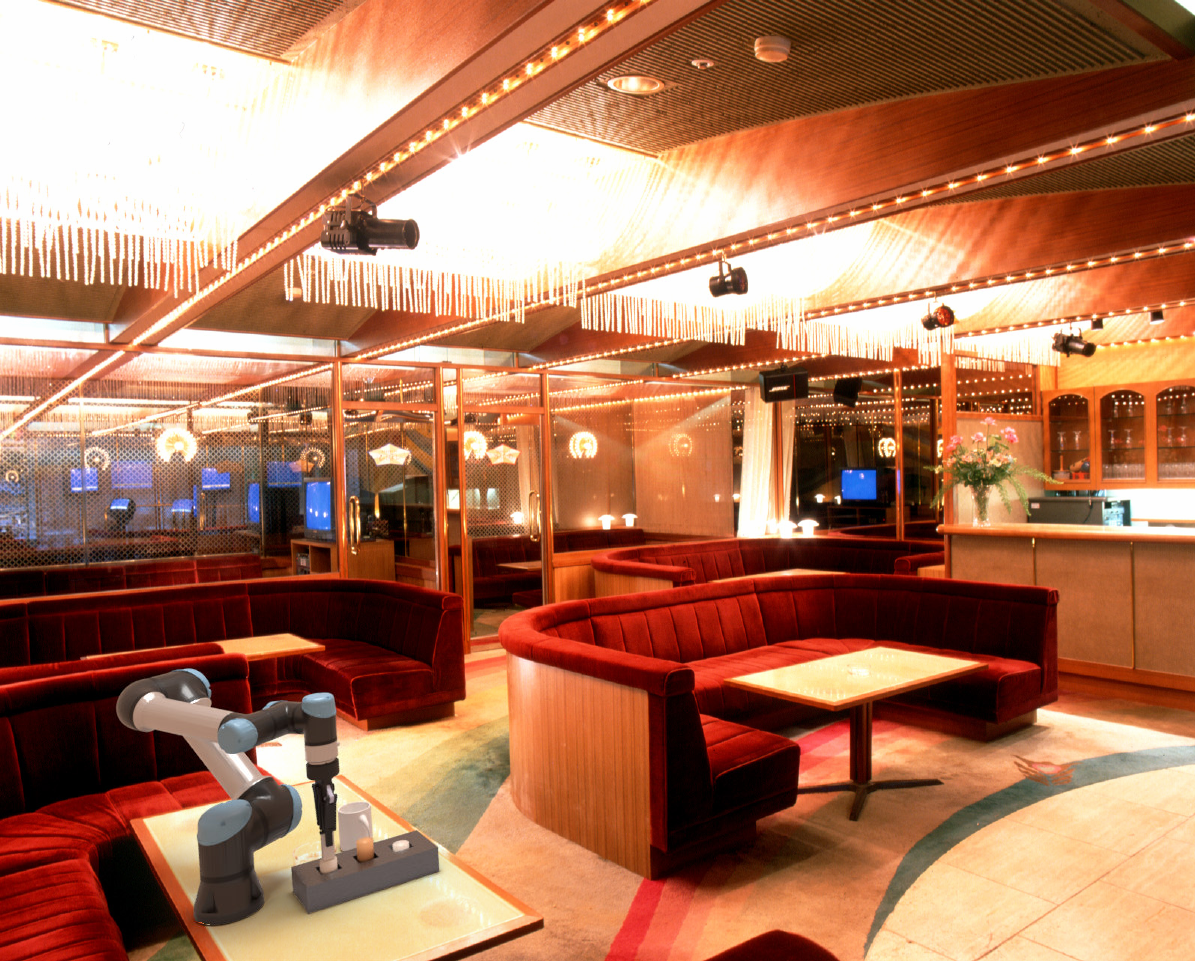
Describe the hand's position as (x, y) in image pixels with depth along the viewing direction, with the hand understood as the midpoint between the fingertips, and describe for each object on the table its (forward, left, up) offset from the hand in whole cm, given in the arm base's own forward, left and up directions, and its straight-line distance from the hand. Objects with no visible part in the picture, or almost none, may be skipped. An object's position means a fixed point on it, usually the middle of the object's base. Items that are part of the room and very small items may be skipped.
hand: (328, 858), depth 203 cm
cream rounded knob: (+18, 0, -7) cm, 19 cm away
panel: (+9, 0, -8) cm, 12 cm away
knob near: (0, 0, -5) cm, 5 cm away
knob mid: (+9, 0, -3) cm, 9 cm away
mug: (+14, +21, -9) cm, 27 cm away
